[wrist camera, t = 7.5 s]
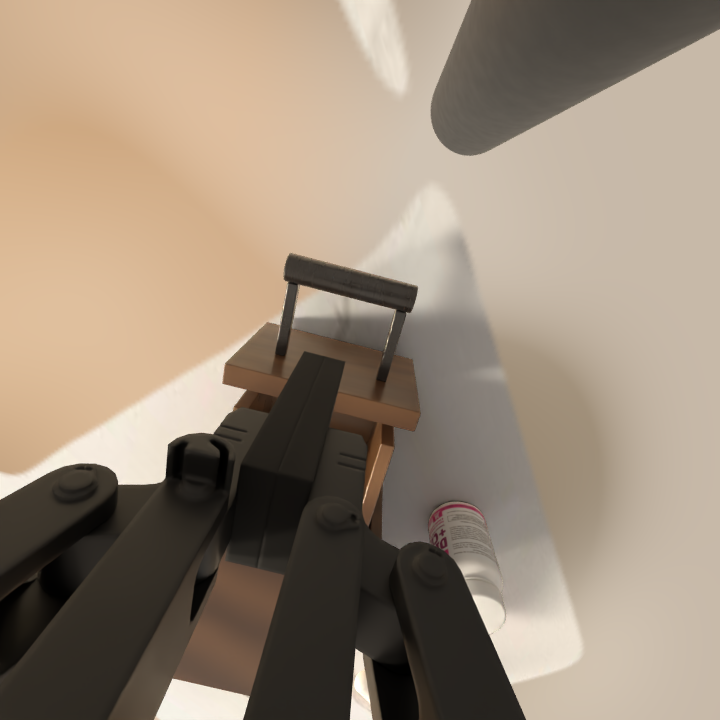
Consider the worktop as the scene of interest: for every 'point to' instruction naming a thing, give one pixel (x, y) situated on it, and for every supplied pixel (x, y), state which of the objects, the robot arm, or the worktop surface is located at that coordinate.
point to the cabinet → (238, 624)
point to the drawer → (362, 365)
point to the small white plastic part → (362, 685)
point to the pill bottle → (471, 556)
